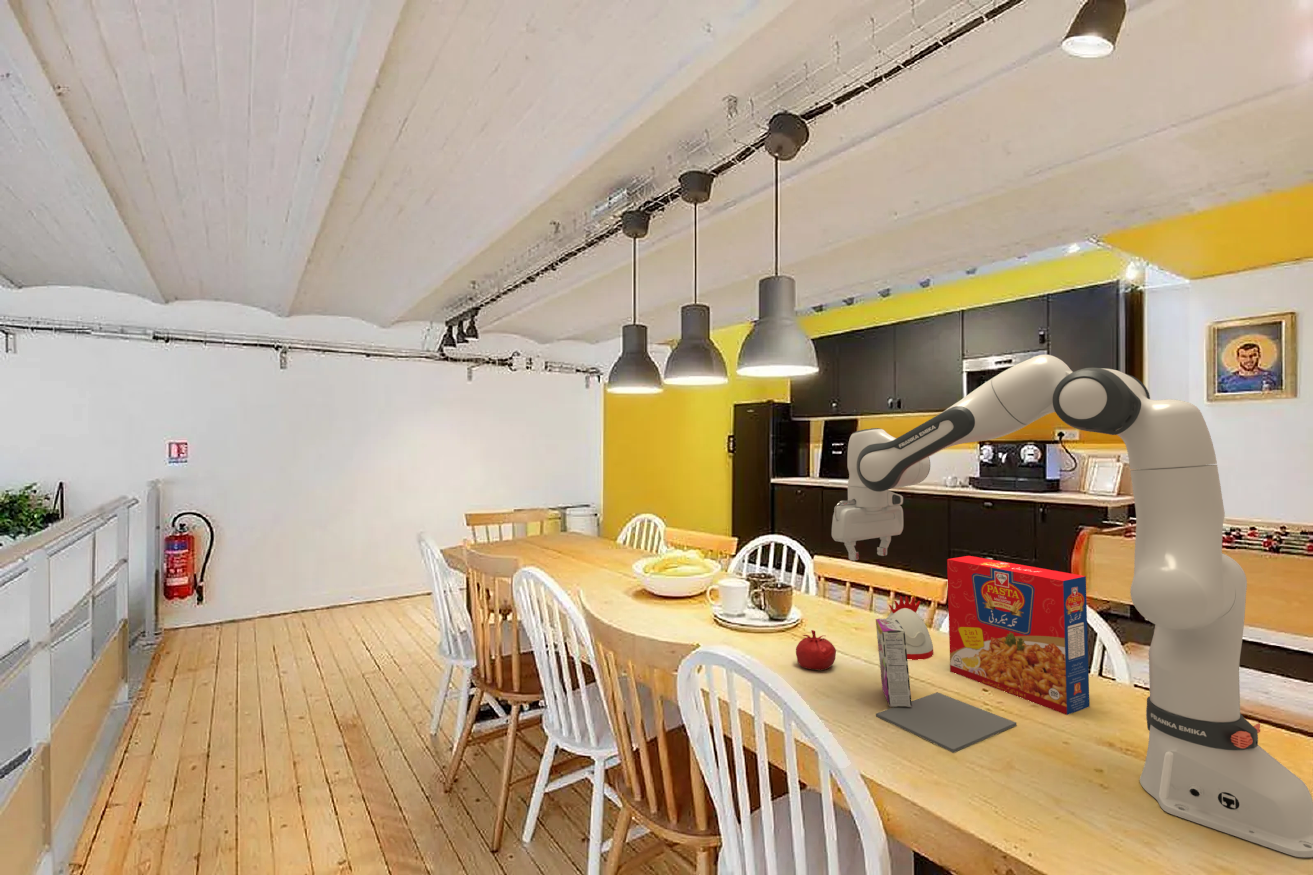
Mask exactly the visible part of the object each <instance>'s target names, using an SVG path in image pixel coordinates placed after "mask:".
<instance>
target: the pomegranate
mask: <svg viewBox="0 0 1313 875" xmlns="http://www.w3.org/2000/svg"><path fill="white" fill-rule="evenodd" d="M810 632H811V634H812V637H811V636H810V635H808V634H802V636H803V639H801V640H800V641H799V642H798V644H797V645H796V647H795V656H796V660H797V663H798V665H799V666H800V667H802V668H804V669H808V670H811V671H812V670H815V671H825V670H827V669H829V668H831V666H833V664H834V663H835V661H836V655H837V654H836V653H837V650H836V647H835V645H833V643H832V642H831V641H829V640H828V639H826V638H823V637H825V635H820V636H818V637H817V636H816V635H817V634H816V631H815V630H814V629H811V631H810Z"/></svg>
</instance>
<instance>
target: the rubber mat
mask: <svg viewBox="0 0 1313 875" xmlns="http://www.w3.org/2000/svg"><path fill="white" fill-rule="evenodd" d="M911 703H912V707H889V708H887V709H885V710H882V711H879V712H876V713H875V717H877V718H879V719H881V720H884V721H885V722H887V723H888V724H889V723H890V724H892V725H893V726H895V727H898V728H900V729H902V730H904V731H906V732H909V733H911V734H912V735H915V736H917V737H919V738H922V739H924V740H926V741H928V742H930V743H932V744H935V745H936V746H938V747H941V748H943V749H945V750H947V751H949V752H951V753H952V754H953V753H956V752H958V751H960V750H963V749H966V748H967V747H970V746H972V745H975V744H977V743H980V742H981V741H984V740H987V739H988V738H991V737H993V736H995V735H998V734H1000V733H1003V732H1006V731H1007V730H1009V729H1012V728H1015V727H1017V722H1016V721H1014V720H1011V719H1008V718H1005V717H1002V716H1000V715H998V714H995V713H992V712H991V711H990V712H989V711H987V710H985V709H982V708H979V707H976V706H974V705H971V704H969V703H967V702H964V701H962V700H959V699H956V698H954V697H951V696H948V695H945V694H943V693H940V692H938V691H937V692H935V693H930V694H928V695H925V696H923V697H919V698H917V699H913V700H911Z"/></svg>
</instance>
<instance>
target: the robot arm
mask: <svg viewBox="0 0 1313 875" xmlns="http://www.w3.org/2000/svg"><path fill="white" fill-rule="evenodd" d="M1052 413H1055V414H1056V415H1057V417H1058V418H1059V419H1060V420H1061V421H1062V422H1063V423H1065V424H1066V425H1068V426H1069V427H1072V428H1074V429H1075V430H1076V429H1077V430H1080V431H1084V432H1089V433H1096V434H1097V433H1099V434H1105V435H1111V436H1118V437H1119V438H1120V439H1122V441H1123V443H1124V444H1125V447H1126V452H1127V457H1128V463H1129V464H1128V465H1129V471H1130V478H1131V487H1132V492H1133V494H1132V495H1133V501H1134V508H1135V517H1136V518H1135V522H1136V523H1135V524H1136V528H1135V538H1134V539H1135V542H1134V560H1133V561H1134V568H1133V578H1132V581H1131V585H1130V592H1129V593H1130V599H1131V602H1132V604H1133V606H1134V607H1135V609H1136V611H1137V612H1139V614H1140V615H1141V616H1142V617H1143V618H1144V619H1146V620H1147V621H1149V622H1150V623H1152V624H1153V625H1154V631H1153V636H1152V640H1151V643H1150V646H1149V650H1148V680H1149V681H1148V682H1149V684H1148V685H1149V696H1148V697H1147V698H1146V709H1145V713H1146V714H1145V715H1146V716H1145V717H1146V724H1147V725H1146V727H1147V730H1148V732H1149V734H1148V745H1147V752H1146V756H1145V757H1146V758H1145V762H1144V766H1143V768H1142V772H1141V774H1140V777H1139V782H1140V783H1139V784H1140V786H1142V787H1143V788H1142V789H1144V790H1145V791H1146V792H1147V793H1148V794H1149V795H1151V796H1152V797H1153V799H1155V800H1156V801H1157V802H1158V804H1159V806H1160V808H1161V809H1162V810H1163V811H1164V812H1166V813H1168V814H1171V815H1173V816H1176V817H1179V818H1182V819H1185V820H1188V821H1190V822H1193V823H1196V824H1199V825H1202V826H1205V827H1208V828H1210V829H1214V830H1216V831H1220V832H1222V833H1225V834H1228V835H1231V836H1235V837H1236V838H1240V839H1243V840H1246V841H1249V842H1251V843H1254V844H1256V845H1260V846H1263V847H1266V848H1269V849H1271V850H1274V851H1277V852H1281V853H1284V854H1287V855H1289V856H1293V857H1296V858H1313V798H1312V794H1311V792H1310V790H1309V788H1308V786H1307V785H1306V783H1305V782H1304V781H1303V780H1302V779H1301V778H1300V777H1298V776H1297V775H1296V774H1295V773H1293V771H1291V770H1290V769H1288V768H1287V767H1286V766H1284V765H1283V764H1282V763H1280V761H1278V760H1277V759H1276V758H1275V757H1273V756H1272V755H1271V754H1270V753H1269V752H1267V751H1266V750H1265V749H1263V748H1262V747H1261V746H1260V745H1259V733H1261V723H1256V724H1255V725H1253V724H1251V723H1250V722H1249V721H1248V720H1247V719H1246V718H1245V717H1244V716H1243V714H1241V700H1240V699H1241V691H1240V688H1241V687H1240V663H1241V662H1240V659H1241V652H1242V646H1243V645H1242V644H1243V637H1244V628H1245V614H1246V598H1247V589H1248V581H1247V576H1246V573H1245V571H1244V569H1243V568H1242V566H1241V565H1240V564H1239V563H1238V562H1237V561H1236V560H1235V559H1234V558H1232V557H1230V556H1229V555H1228V554H1225V553H1223V529H1224V519H1225V516H1226V515H1225V512H1226V511H1225V507H1224V501H1223V500H1224V499H1223V494H1222V493H1223V492H1222V487H1221V481H1220V475H1219V469H1218V468H1219V467H1218V464H1217V463H1218V462H1217V458H1216V451H1215V447H1214V444H1213V443H1214V442H1213V440H1212V438H1211V434H1210V431H1209V428H1208V426H1207V422H1206V421H1205V417H1204V415H1203V413H1202V412H1201V410H1200V409H1199V408H1198V407H1197V406H1196V405H1195V404H1193V403H1191V402H1189V401H1185V400H1181V399H1172V398H1170V399H1168V398H1166V399H1151V396H1150V393H1149V390H1148V388H1147V387H1146V386H1145V384H1144V383H1143V382H1142V381H1141V380H1140V379H1138V378H1137V377H1135V376H1133V375H1130V374H1127V373H1124V372H1122V371H1120V370H1116V369H1112V368H1102V367H1085V368H1081V369H1078V370H1075V371H1073V370H1072V369H1070V367H1069V365H1068V364H1066V362H1064V361H1063V360H1062V359H1060V358H1059V357H1056V356H1054V355H1051V354H1039V355H1035V356H1033V357H1030V358H1028V359H1026V360H1024V361H1021V362H1019V363H1017V364H1015V365H1013V366H1011V367H1009V368H1007V369H1005V370H1003V371H1001V372H1000V373H999V374H996V375H995V376H993V377H992V378H990V379H988V380H987V381H986V382H984V383H983V384H981V385H980V386H978V387H977V388H975V389H974V390H973V391H971V392H969V393H968V394H967V395H965V396H964V397H963V398H961V399H960V400H958V401H957V402H955V403H954V404H953V405H951V406H949V407H947V408H946V409H945V410H943V411H941V412H940V413H939V414H938V415H935V416H934V417H932V418H930V419H928V420H926V421H925V422H923V423H922V424H919V425H918V426H916V427H915V428H912V429H911V430H908V432H906V433H904V434H902V435H900V436H898V437H895V436H892V435H890V434H889V433H888V432H887V431H886V430H884V429H883V428H879V427H872V428H865V429H861V430H857V431H854V432H853V433H852V434H851V435H850V437H849V441H848V444H847V459H846V460H847V465H846V466H847V470H848V474H849V475H848V476H849V477H848V481H847V500H840V501H838V503H837V504H836V505H835V506H834V510H833V511H834V512H833V515H832V523H831V537H832V539H833V541H835V542H840V543H844V544H843V545H844V547H845V548H846V550H847V552H848V559H849V560H850V561H858V560H859V559H860V557H859V556H860V552H859V551H857V550H856V548H855V547H856V546H857V544H856V543H857V541H858V542H859V541H864V540H869V539H879V540H880V543H879V547H878V546H877V547H876V554H877V555H878V556H881V557H884V556H887V555H888V548H889V545H890V543H891V541H892V536H898V535H899V536H900V535H901V534H902V532H903V530H904V509H903V507H902V506H901V505H903V504H904V496H902V495H901V494H898V493H895V492H893V491H890V490H892V489H898V488H903V487H904V488H906V487H910V486H915V485H917V484H920V483H922V482H924V480H926V479H927V477H928V476H929V474H930V471H931V460H930V457H931V456H933V455H935V454H936V453H937V454H938V453H939V452H941V451H943V450H945V449H947V448H950V447H953V446H958V445H962V444H967V443H974V442H982V441H983V442H984V441H990V440H995V439H997V438H1001V437H1005V436H1007V435H1010V434H1012V433H1015V432H1017V431H1019V430H1021V429H1023V428H1026V427H1027V426H1028V425H1030V424H1032V423H1033V422H1035V421H1038V420H1039V419H1041V418H1043V417H1045V416H1047V415H1050V414H1052Z"/></svg>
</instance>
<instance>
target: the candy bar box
mask: <svg viewBox="0 0 1313 875" xmlns="http://www.w3.org/2000/svg"><path fill="white" fill-rule="evenodd" d="M875 628H876V639H877V648H878V659H879V668H880V677H881V678H880V679H881V689H882V692H883V694H884V696H885V698H886V701H887V704H888V706H889V708H893V707H912V703H911V701H912V694H911V683H910V682H911V681H910V673H909V662H908V661H909V660H907V650H906V641H905V631H904V629H903V628H902V626H901V625H900V623H899V622H898V620H897V619H886V618H875Z"/></svg>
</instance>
